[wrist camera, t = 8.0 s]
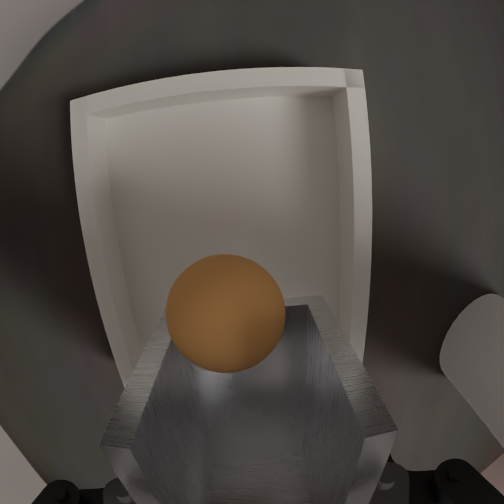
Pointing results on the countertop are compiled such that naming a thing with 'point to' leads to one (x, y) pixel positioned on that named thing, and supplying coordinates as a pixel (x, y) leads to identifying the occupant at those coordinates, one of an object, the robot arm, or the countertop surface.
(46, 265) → the countertop surface
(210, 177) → the tray
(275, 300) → the ball
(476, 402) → the cylindrical container
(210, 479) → the scoop
